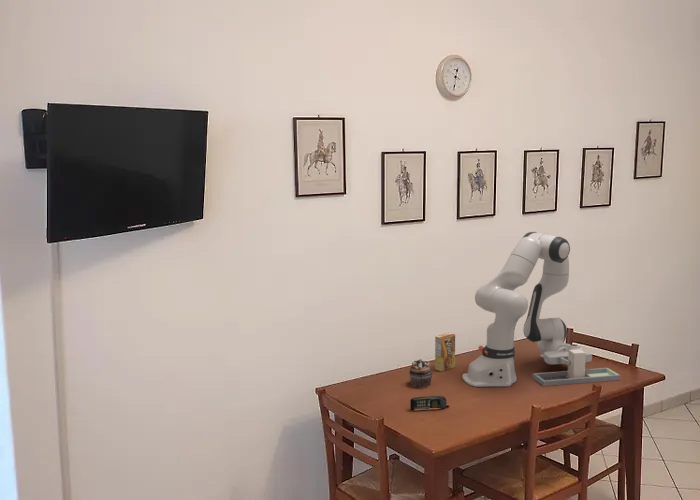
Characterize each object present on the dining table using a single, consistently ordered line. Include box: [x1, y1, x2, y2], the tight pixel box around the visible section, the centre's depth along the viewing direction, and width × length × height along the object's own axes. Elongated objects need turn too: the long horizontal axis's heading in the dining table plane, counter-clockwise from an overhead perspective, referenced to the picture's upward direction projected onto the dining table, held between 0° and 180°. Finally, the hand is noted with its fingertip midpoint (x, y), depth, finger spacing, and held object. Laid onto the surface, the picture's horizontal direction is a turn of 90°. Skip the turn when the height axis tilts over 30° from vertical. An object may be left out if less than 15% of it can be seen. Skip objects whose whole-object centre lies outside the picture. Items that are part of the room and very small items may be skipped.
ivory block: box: [567, 349, 586, 379], centre depth 277 cm, size 5×5×12 cm
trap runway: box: [532, 367, 621, 387], centre depth 278 cm, size 34×10×2 cm, turn 100°
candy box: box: [434, 332, 456, 372], centre depth 293 cm, size 9×4×15 cm, turn 129°
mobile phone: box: [409, 395, 450, 411], centre depth 249 cm, size 5×3×15 cm
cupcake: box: [408, 359, 433, 388], centre depth 274 cm, size 10×10×10 cm
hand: (576, 362), depth 277 cm, fingers closed on ivory block, 5 cm apart
